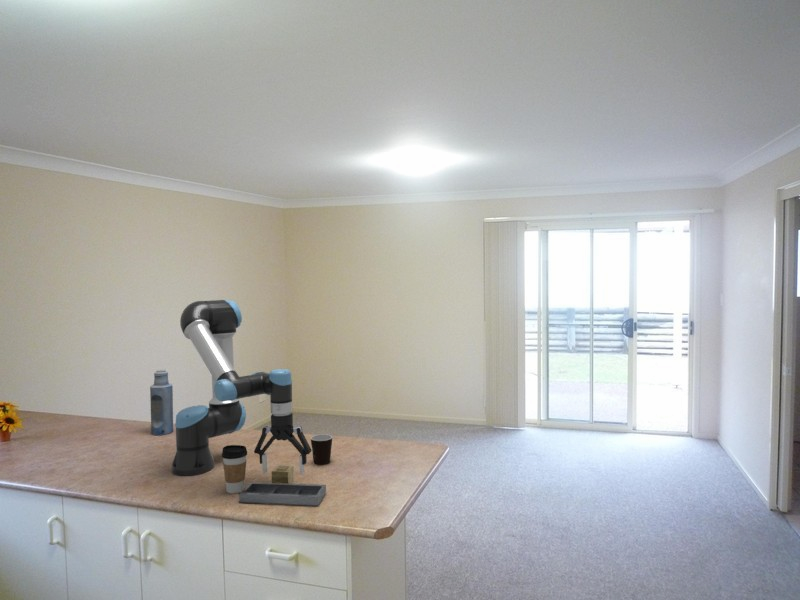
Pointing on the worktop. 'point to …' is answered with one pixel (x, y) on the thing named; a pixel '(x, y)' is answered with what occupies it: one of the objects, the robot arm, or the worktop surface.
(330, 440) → the coffee mug
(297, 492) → the grey divided tray
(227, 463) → the coffee cup
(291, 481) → the recessed panel cube
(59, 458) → the worktop surface
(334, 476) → the worktop surface
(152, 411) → the bottle
